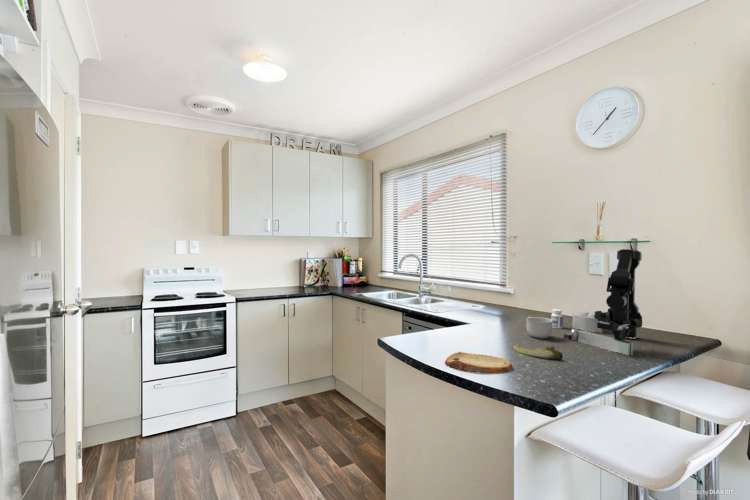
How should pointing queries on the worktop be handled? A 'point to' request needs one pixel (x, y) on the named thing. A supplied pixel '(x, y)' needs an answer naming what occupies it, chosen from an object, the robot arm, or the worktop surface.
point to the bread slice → (478, 363)
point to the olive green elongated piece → (540, 352)
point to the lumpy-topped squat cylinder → (585, 321)
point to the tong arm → (619, 340)
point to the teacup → (539, 327)
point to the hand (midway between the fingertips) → (619, 345)
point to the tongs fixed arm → (599, 341)
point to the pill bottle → (557, 319)
